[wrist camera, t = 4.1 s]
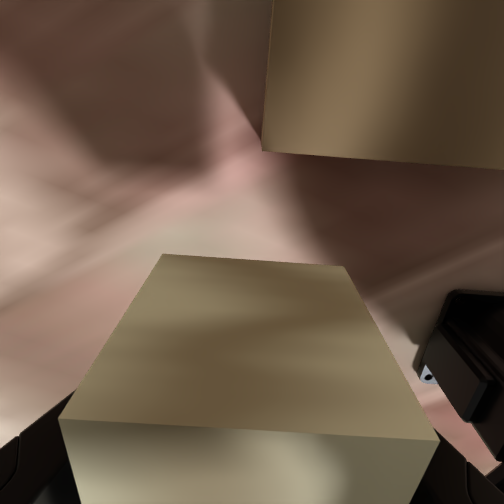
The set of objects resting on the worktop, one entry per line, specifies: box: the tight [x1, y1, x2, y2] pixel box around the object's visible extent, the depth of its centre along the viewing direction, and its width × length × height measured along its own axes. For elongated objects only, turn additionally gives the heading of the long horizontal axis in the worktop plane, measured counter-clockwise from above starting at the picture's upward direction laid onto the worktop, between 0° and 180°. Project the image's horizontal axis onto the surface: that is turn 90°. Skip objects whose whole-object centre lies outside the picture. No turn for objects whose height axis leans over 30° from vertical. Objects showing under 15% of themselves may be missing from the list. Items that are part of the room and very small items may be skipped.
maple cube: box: [58, 254, 440, 504], centre depth 7 cm, size 5×5×5 cm
